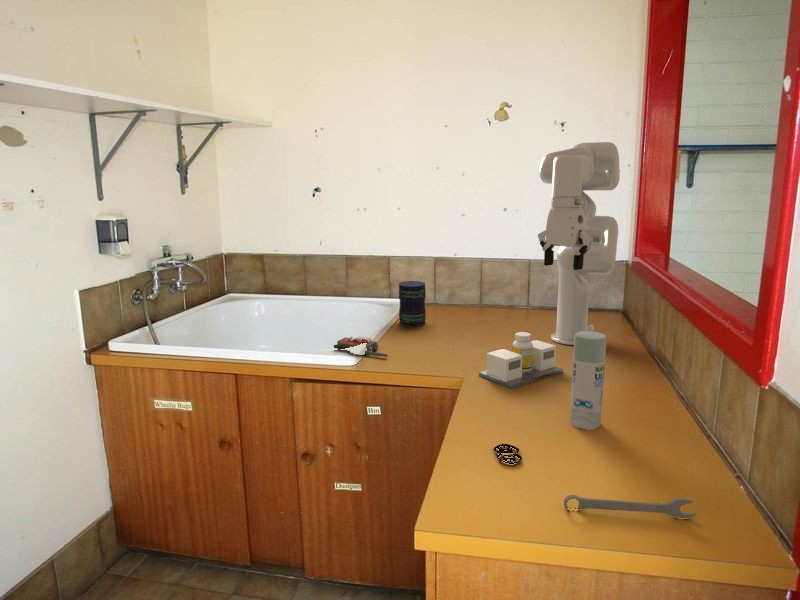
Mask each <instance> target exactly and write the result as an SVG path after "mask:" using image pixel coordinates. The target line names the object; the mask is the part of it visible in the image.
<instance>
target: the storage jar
mask: <svg viewBox="0 0 800 600" xmlns="http://www.w3.org/2000/svg"><path fill="white" fill-rule="evenodd" d="M398 286H399V287H398V299H399V309H398V318H399V321H398V322H399V323H400V324H401V325H400V324H399V325H400V326H402V325H403V326H402V327H406V326H419V327H422V326H421V325H423V326H425V325H426V324H425V323H427V322H426V318H427V313H426V311H427V310H426V297H427V296H426V293H427V292H426V291H427V290H426V282H424V281H421V280H420V281H418V280H417V281H415V280H410V281H401V282H399V283H398ZM424 324H425V325H424Z"/></svg>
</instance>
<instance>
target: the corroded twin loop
mask: <svg viewBox="0 0 800 600" xmlns="http://www.w3.org/2000/svg"><path fill="white" fill-rule="evenodd" d="M500 446H504V448H505V446H507V447H508V448H505V449H504V448H502V447H500ZM499 447H500V448H502V449H503V450H508V451H501V449H500V448H499ZM510 447H512V448H514V449H516V450H517V451H515V452H514V450H512V448H511V450H509V448H510ZM496 448H498V449H499V451H500V452H498V451H496ZM493 451H494V452H495V451H496V452H497V453H500V454H499V455H497V454H496V458H497V459H499V458H498V457H499V456H500V455H502V454H501V453H513V455H514V456H513V455H511V456H513V457H514V458H515V456H517V457H518V458H520V460H518V461H517V458H515V459H514V458H504V456H508V457H511V456H510V455H504V456H502V457H501V459H500V460H501V461H503V460H505V461H507V459H510V461H508V462H505V461H503V462H505V463H509V462H511V460H513V461H516V462H514V463H518V462H519V463H520V462H521V461H522V459H523V457H522V456H521V455H520V454H516V453H518V452H520V449H519V447H516V446H514V445H513V444H509V443H501V444H497V445H495V446H494V448H493ZM502 458H503V460H502ZM514 463H513V462H511V463H509V464H514ZM519 463H518V464H519Z"/></svg>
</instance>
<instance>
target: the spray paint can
mask: <svg viewBox="0 0 800 600" xmlns="http://www.w3.org/2000/svg"><path fill="white" fill-rule="evenodd" d="M607 341H608V339H607V335H606V334H604V333H601V332H598V331H582V332H577V333H576V334H575V336H574V345H573V353H572V376H571V394H570V395H571V396H570V397H571V398H570V417H569V418H570V419H569V423H570V424H571V426H572V427H575V428H577V429H579V430H585V431H592V430H597V429H599V428H600V426H601V419H602V418H601V417H602V406H603V396H604V395H603V394H604V392H603V391H604V382H605V381H604V380H605V366H606V352H607Z"/></svg>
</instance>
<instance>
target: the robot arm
mask: <svg viewBox="0 0 800 600" xmlns="http://www.w3.org/2000/svg"><path fill="white" fill-rule="evenodd" d="M539 177H540V180H541V181H542V182H543V183H544V184H549V185H552V186H551V208H549V211H548V216H547V220H546V228H545V230H543V231H542V232H539V233H538V234H537V238H538V241H539V245H540V246H541V249H542V251H543V252H544V256H543V257H544V259H543V266H545V267H547V266H553V265H554V260H555V259H554V257H555V252H554V250H553V249H554V248H555V247H556V246H557V247H559V248H557V249H558V250H557V252H556V262H557V265H556V266H557V271H558V272H557V276H558V277H557V278H558V285H557V286H558V287H557V289H558V290H557V307H556V309H557V310H556V328H555V332H553V333H551V335H550V340H552V341H553V342H556V343H557V344H562V345H566V346H568V345H569V346H574V336H575V334H576V333H577V332H582V331H592V332H594V330H595V326H594V325H593V324H590V325H588V318H589V317H588V316H589V301H590V300H589V299H590V298H589V297H590V286H589V284H588V281H587V280H586V279H585V278H584V277H583V275H599V276H600V275H601V276H605V275H607V276H608V275H610V274H611V273H612V272H613V271H614V269H615V266H616V259H617V257H616V256H617V249H618V248H617V247H618V239H619V224H618V221H617V220H616V219H615V217H613V216H608V215H597V214H596V212H597V206H596V203H595V201H594V199H592V197H590V196H589V195H588V194H587V193H586V192H585V191H612V190H615V189H616V188H617V187H618V186H619V182H620V179H621V178H620V177H621V174H620V154H619V150H618V147H617V146H616V144H614V143H613V142H610V141H605V142H604V141H601V142H581V143H578V144H576V145H574V146H573V147H572V148H569V149H568V148H567V149H563V150H558V151H554V152H550V153H547V154H546V155H545V156H544V157H543V158H542V160H541V162H540V164H539Z"/></svg>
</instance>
